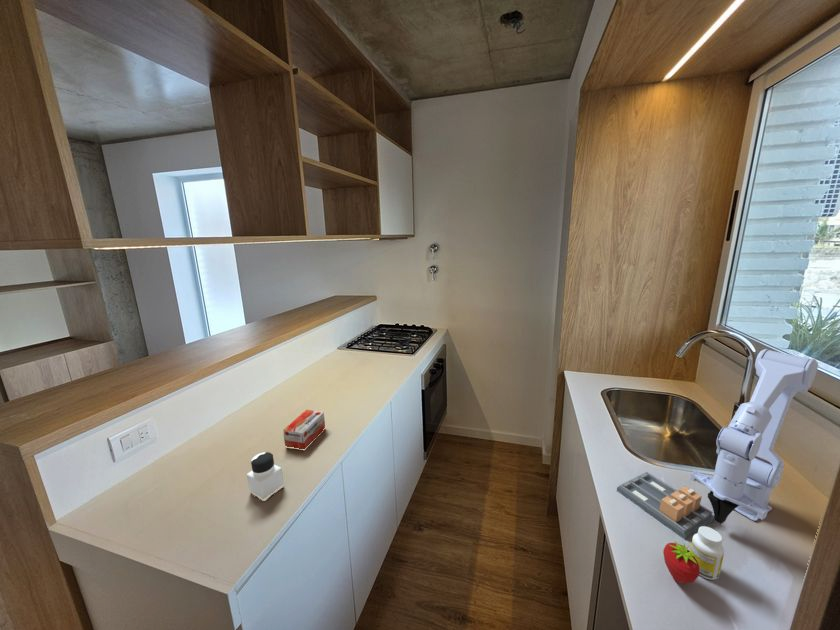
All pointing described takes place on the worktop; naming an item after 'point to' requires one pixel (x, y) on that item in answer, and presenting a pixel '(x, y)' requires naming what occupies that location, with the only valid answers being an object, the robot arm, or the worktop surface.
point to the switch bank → (648, 497)
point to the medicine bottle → (264, 475)
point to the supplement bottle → (708, 552)
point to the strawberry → (681, 563)
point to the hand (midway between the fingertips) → (719, 520)
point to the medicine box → (304, 429)
